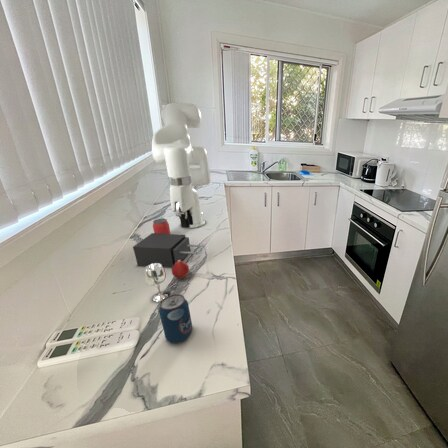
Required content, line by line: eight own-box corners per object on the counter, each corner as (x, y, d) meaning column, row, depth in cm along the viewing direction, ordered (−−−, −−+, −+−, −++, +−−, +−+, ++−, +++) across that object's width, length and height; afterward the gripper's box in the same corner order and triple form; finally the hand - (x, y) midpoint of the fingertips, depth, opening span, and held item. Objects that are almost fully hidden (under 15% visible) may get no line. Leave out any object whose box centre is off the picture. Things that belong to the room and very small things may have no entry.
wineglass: (157, 305, 78) (149, 274, 74) (147, 298, 81) (139, 268, 77) (173, 295, 83) (167, 265, 78) (163, 289, 86) (157, 260, 81)
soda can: (190, 343, 66) (183, 309, 61) (162, 347, 64) (153, 312, 60) (195, 324, 72) (189, 291, 67) (169, 327, 70) (162, 294, 66)
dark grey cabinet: (188, 252, 110) (185, 234, 107) (173, 267, 98) (169, 248, 95) (156, 250, 110) (152, 233, 107) (137, 265, 99) (132, 246, 95)
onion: (173, 284, 89) (170, 265, 85) (173, 275, 93) (169, 257, 90) (191, 280, 91) (187, 262, 88) (189, 272, 96) (186, 254, 93)
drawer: (207, 251, 109) (206, 238, 106) (196, 265, 98) (194, 251, 96) (161, 249, 109) (158, 235, 107) (145, 263, 99) (141, 248, 96)
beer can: (166, 247, 113) (161, 224, 108) (153, 246, 114) (148, 222, 109) (175, 241, 119) (171, 218, 114) (163, 240, 120) (158, 217, 115)
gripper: (180, 176, 98) (187, 218, 105) (158, 185, 83) (167, 233, 91) (199, 176, 98) (204, 218, 105) (179, 186, 83) (187, 234, 90)
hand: (187, 225), depth 98 cm, fingers closed
